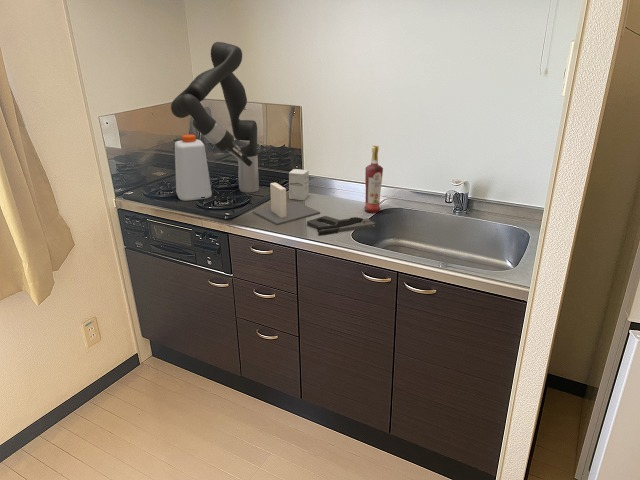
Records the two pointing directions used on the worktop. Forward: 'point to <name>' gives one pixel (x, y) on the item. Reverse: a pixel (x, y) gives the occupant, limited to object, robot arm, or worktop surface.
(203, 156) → the plastic bottle
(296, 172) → the supplement box
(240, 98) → the robot arm
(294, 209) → the mat
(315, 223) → the pistol
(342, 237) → the worktop surface
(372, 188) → the liquor
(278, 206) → the tile
